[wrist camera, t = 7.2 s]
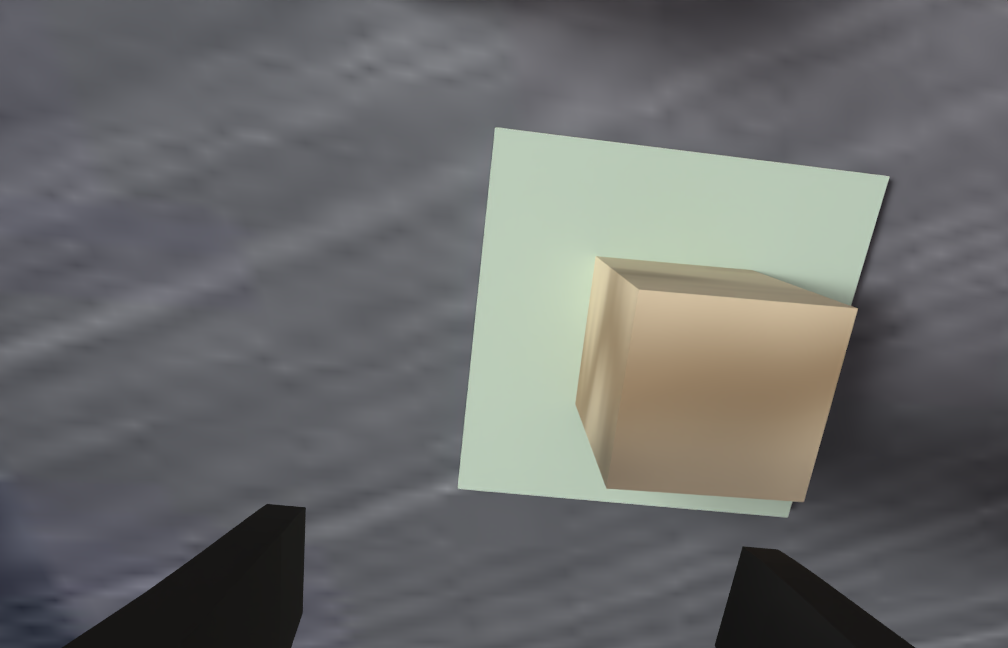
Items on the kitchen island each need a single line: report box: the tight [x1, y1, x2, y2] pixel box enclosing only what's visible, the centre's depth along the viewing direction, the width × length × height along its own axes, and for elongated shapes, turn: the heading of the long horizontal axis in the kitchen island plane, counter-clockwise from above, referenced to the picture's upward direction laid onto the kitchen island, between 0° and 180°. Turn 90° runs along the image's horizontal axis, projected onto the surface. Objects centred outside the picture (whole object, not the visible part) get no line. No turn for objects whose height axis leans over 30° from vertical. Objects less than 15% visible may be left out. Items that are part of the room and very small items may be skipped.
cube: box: [575, 256, 858, 502], centre depth 15 cm, size 5×5×5 cm
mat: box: [458, 127, 890, 518], centre depth 18 cm, size 12×12×1 cm
